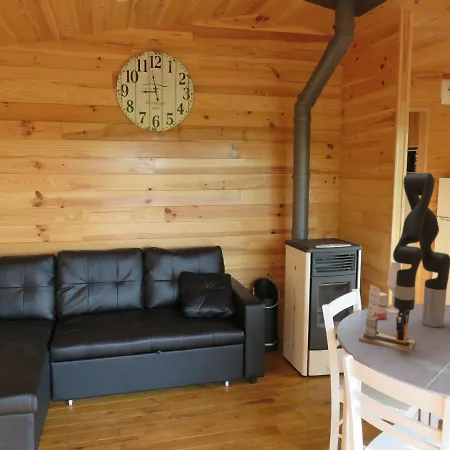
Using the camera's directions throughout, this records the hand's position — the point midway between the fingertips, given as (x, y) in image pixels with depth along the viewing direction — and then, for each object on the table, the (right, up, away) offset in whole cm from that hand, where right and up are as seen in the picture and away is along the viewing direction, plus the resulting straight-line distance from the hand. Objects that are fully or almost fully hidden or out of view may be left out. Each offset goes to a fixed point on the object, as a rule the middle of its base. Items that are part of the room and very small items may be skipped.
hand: (401, 338), depth 192 cm
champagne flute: (+13, +2, +48) cm, 50 cm away
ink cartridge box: (+2, +1, +39) cm, 39 cm away
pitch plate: (-4, -3, +6) cm, 8 cm away
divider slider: (+1, -2, +3) cm, 3 cm away
